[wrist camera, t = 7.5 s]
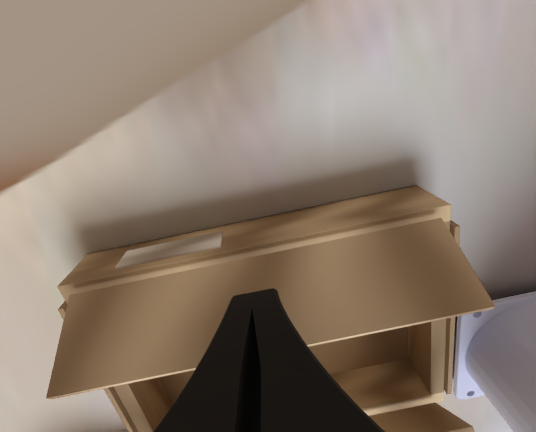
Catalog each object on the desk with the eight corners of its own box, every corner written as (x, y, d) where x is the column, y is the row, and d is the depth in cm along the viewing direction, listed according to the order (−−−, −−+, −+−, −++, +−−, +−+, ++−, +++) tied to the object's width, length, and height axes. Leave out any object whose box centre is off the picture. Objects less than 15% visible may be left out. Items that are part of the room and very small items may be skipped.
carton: (421, 182, 17) (461, 203, 14) (421, 360, 22) (450, 404, 19) (82, 253, 17) (46, 289, 14) (161, 412, 22) (148, 465, 19)
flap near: (439, 221, 14) (441, 217, 14) (491, 309, 11) (495, 306, 11) (73, 297, 14) (69, 294, 14) (52, 399, 12) (46, 398, 11)
